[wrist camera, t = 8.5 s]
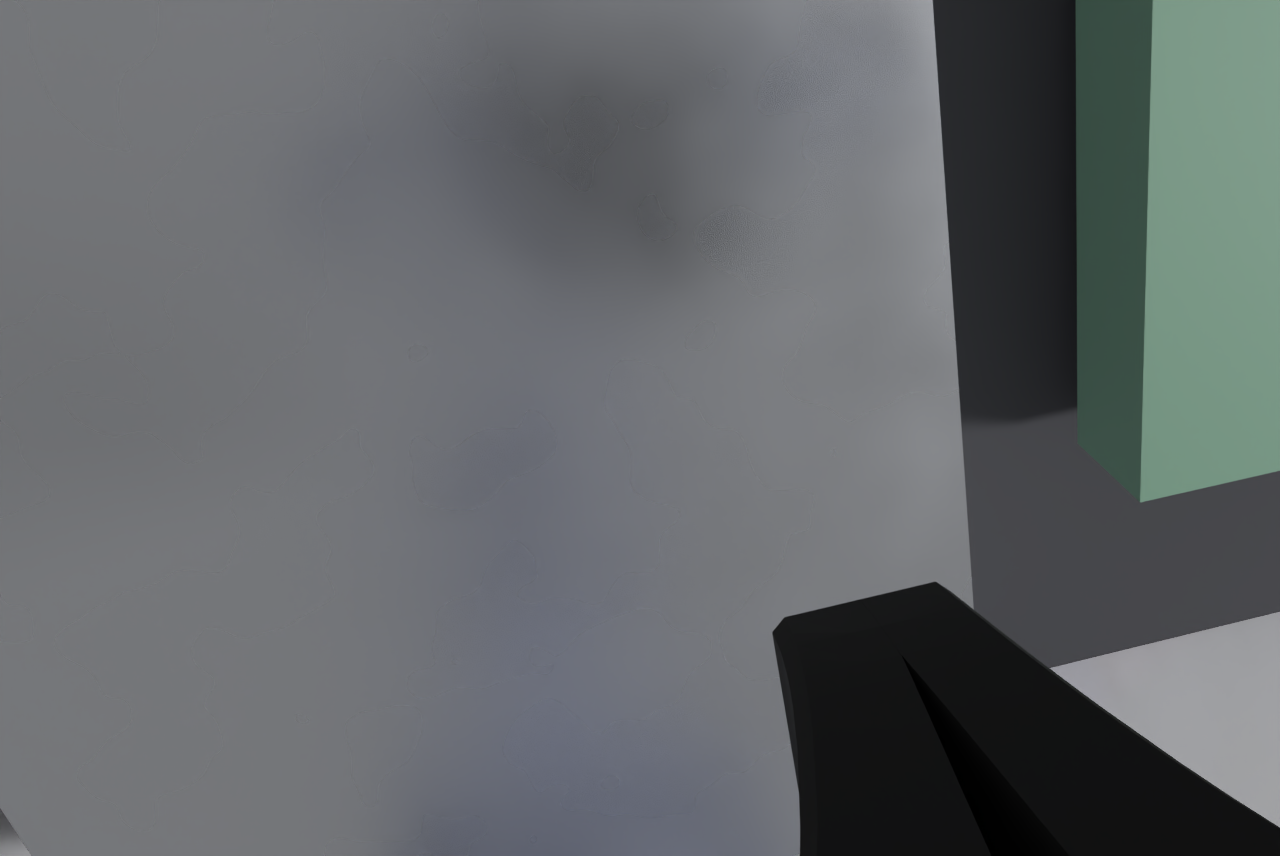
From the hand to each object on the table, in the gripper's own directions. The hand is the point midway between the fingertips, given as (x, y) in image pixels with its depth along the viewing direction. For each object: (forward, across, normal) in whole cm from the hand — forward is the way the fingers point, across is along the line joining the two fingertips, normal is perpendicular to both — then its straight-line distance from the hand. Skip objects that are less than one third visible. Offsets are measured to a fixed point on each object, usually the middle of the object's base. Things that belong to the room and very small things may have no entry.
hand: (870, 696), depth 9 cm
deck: (+10, +4, 0) cm, 11 cm away
